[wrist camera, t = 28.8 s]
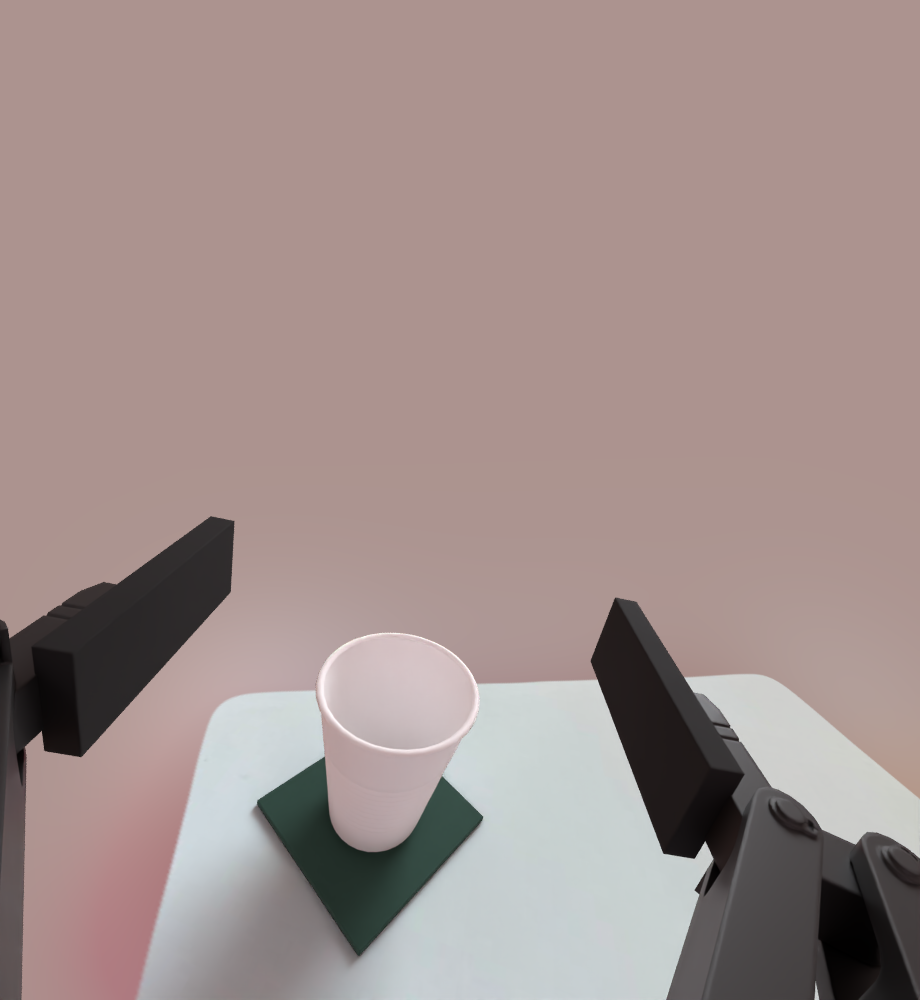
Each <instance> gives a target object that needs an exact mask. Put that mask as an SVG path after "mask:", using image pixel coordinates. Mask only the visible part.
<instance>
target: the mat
mask: <svg viewBox="0 0 920 1000" xmlns="http://www.w3.org/2000/svg"><path fill="white" fill-rule="evenodd" d="M257 805H258V806H259V808H260V809H261V811H262V812H263V814H264V815H265V817H266V818H267V820H268V821H269V823H270V824H271V826H272V827H273V829H274V830H275V832H276V833H277V835H278V836H279V838H280V839H281V841H282V842H283V844H284V845H285V847H286V848H287V850H288V851H289V853H290V854H291V856H292V857H293V859H294V860H295V862H296V863H297V865H298V866H299V868H300V869H301V871H302V872H303V874H304V875H305V877H306V878H307V880H308V881H309V883H310V884H311V886H312V887H313V889H314V890H315V892H316V893H317V895H318V896H319V898H320V899H321V901H322V902H323V904H324V905H325V907H326V908H327V910H328V911H329V913H330V914H331V916H332V917H333V919H334V920H335V922H336V923H337V925H338V926H339V928H340V929H341V931H342V932H343V934H344V935H345V937H346V938H347V940H348V941H349V943H350V944H351V946H352V947H353V949H354V950H355V952H356V953H357V955H358V956H360V955H361V954H362V952H363V951H364V950H365V949H366V948H367V947H368V946H369V945H370V944H371V942H372V941H373V940H374V939H375V938H376V937H377V936H378V935H379V934H380V933H381V931H382V930H383V929H384V928H385V927H386V926H387V925H388V924H389V923H390V921H391V920H392V919H393V918H394V917H395V916H396V915H397V914H398V913H399V912H400V910H401V909H402V908H403V907H404V906H405V905H406V904H407V903H408V902H409V901H410V899H411V898H412V897H413V896H414V895H415V894H416V893H417V892H418V891H419V889H420V888H421V887H422V886H423V885H424V884H425V883H426V882H427V881H428V880H429V878H430V877H431V876H432V875H433V874H434V873H435V872H436V871H437V870H438V869H439V867H440V866H441V865H442V864H443V863H444V862H445V861H446V860H447V859H448V857H449V856H450V855H451V854H452V853H453V852H454V851H455V850H456V849H457V848H458V846H459V845H460V844H461V843H462V842H463V841H464V840H465V839H466V838H467V837H468V835H469V834H470V833H471V832H472V831H473V830H474V829H475V828H476V827H477V825H478V824H479V823H480V822H481V821H482V819H483V816H482V815H481V814H480V813H479V812H478V811H477V810H476V809H475V808H474V807H473V806H472V805H471V804H470V803H469V802H468V801H467V800H466V799H465V798H464V797H463V796H462V795H461V794H460V793H459V792H458V791H457V790H455V789H454V788H453V787H452V786H451V785H450V784H449V783H448V782H447V781H446V780H445V779H444V778H443V777H441V778H440V780H439V782H438V784H437V786H436V788H435V790H434V792H433V793H432V796H431V797H430V799H429V801H428V803H427V805H426V807H425V809H424V811H423V813H422V815H421V817H420V819H419V821H418V823H417V824H416V826H415V828H414V830H413V831H412V833H411V834H410V835H409V836H408V837H407V838H406V839H405V840H404V841H403V842H402V843H400V844H399V845H397V846H396V847H394V848H391V849H389V850H386V851H381V852H366V851H362V850H358V849H356V848H354V847H352V846H350V845H348V844H347V843H346V842H345V841H343V840H342V839H341V838H340V836H339V835H338V834H337V833H336V831H335V829H334V827H333V825H332V823H331V819H330V814H329V802H328V786H327V775H326V764H325V757H324V758H322V759H321V760H319V761H317V762H316V763H314V764H313V765H311V766H310V767H308V768H307V769H305V770H304V771H302V772H301V773H299V774H297V775H296V776H294V777H293V778H291V779H290V780H288V781H287V782H285V783H284V784H282V785H280V786H279V787H277V788H276V789H274V790H273V791H271V792H270V793H268V794H267V795H265V796H264V797H262V798H260V799H259V800H258V801H257Z"/></svg>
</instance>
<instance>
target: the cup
mask: <svg viewBox="0 0 920 1000" xmlns="http://www.w3.org/2000/svg"><path fill="white" fill-rule="evenodd" d="M316 699H317V702H318V706H319V709H320V712H321V717H322V729H323V741H324V750H325V764H326V775H327V786H328V802H329V814H330V819H331V823H332V825H333V827H334V829H335V831H336V833H337V834H338V835H339V836H340V838H341V839H342V840H343V841H345V842H346V843H347V844H348V845H350V846H352V847H354V848H356V849H358V850H362V851H366V852H381V851H386V850H389V849H391V848H394V847H396V846H397V845H399V844H400V843H402V842H403V841H404V840H405V839H406V838H407V837H408V836H409V835H410V834H411V833H412V831H413V830H414V828H415V826H416V824H417V823H418V821H419V819H420V817H421V815H422V813H423V811H424V809H425V807H426V805H427V803H428V801H429V799H430V797H431V796H432V793H433V792H434V790H435V788H436V786H437V784H438V782H439V780H440V778H441V777H442V775H443V773H444V771H445V769H446V767H447V765H448V763H449V762H450V760H451V758H452V756H453V755H454V753H455V751H456V749H457V747H458V745H459V743H460V741H461V739H462V738H463V737H464V736H465V735H466V734H467V733H468V732H469V730H470V729H471V727H472V726H473V724H474V723H475V720H476V717H477V714H478V712H479V700H480V698H479V692H478V687H477V684H476V682H475V680H474V677H473V675H472V674H471V672H470V671H469V669H468V668H467V666H466V665H465V664H464V663H463V662H462V661H461V660H460V659H459V658H458V657H457V656H456V655H454V654H453V653H452V652H451V651H449V650H448V649H446V648H445V647H443V646H441V645H439V644H437V643H435V642H433V641H430V640H427V639H425V638H422V637H418V636H414V635H409V634H401V633H378V634H371V635H367V636H363V637H360V638H357V639H354V640H352V641H350V642H348V643H346V644H344V645H343V646H341V647H340V648H339V649H337V650H336V651H334V652H333V653H332V654H331V655H330V656H329V658H328V659H327V660H326V661H325V662H324V664H323V666H322V668H321V669H320V671H319V675H318V678H317V682H316Z"/></svg>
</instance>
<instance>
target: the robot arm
mask: <svg viewBox="0 0 920 1000" xmlns="http://www.w3.org/2000/svg"><path fill="white" fill-rule="evenodd" d="M233 536H234V521H231V520H226V519H221V518H216V517H209V518H208V519H207V520H205V521H204V522H203V523H201V524H200V525H198V526H197V527H196V528H194V529H193V530H191V531H190V532H189V533H187V534H186V535H184V536H183V537H182V538H180V539H179V540H178V541H176V542H175V543H173V544H172V545H171V546H169V547H168V548H167V549H165V550H164V551H162V552H161V553H160V554H158V555H157V556H156V557H154V558H153V559H151V560H150V561H149V562H147V563H146V564H144V565H143V566H142V567H140V568H139V569H138V570H136V571H135V572H133V573H132V574H131V575H129V576H128V577H127V578H125V579H124V580H123V581H121V582H120V583H118V584H117V585H116V584H111V583H105V582H103V583H100V584H97V585H95V586H92V587H90V588H87V589H84V590H82V591H80V592H78V593H77V594H75V595H74V596H72V597H71V598H69V599H68V600H66V601H65V602H63V603H62V605H61V606H57V607H56V608H54V609H53V610H51V611H50V612H48V614H47V616H42V617H41V618H39V619H38V620H36V621H35V622H33V623H32V624H31V625H29V626H27V627H26V628H25V629H23V630H22V631H20V632H19V633H17V634H16V635H14V636H13V637H11V638H10V639H9V633H8V628H7V626H6V623H5V622H3V621H2V620H0V1000H21V993H22V992H21V991H22V945H23V943H22V942H23V897H24V850H25V803H26V750H25V746H26V745H27V744H28V743H29V742H30V741H31V740H32V739H33V738H35V737H36V736H37V735H38V734H39V733H40V732H41V731H42V736H43V743H44V750H45V751H47V752H53V753H60V754H65V755H72V756H78V757H82V756H83V755H84V754H85V753H86V751H87V750H88V749H89V748H90V747H91V746H92V745H93V744H94V743H95V742H96V740H97V739H98V738H99V737H100V736H101V735H102V734H103V733H104V732H105V731H106V729H107V728H108V727H109V726H110V725H111V724H112V723H113V722H114V721H115V719H116V718H117V717H118V716H119V715H120V714H121V713H122V712H123V711H124V710H125V708H126V707H127V706H128V705H129V704H130V703H131V702H132V701H133V700H134V698H135V697H136V696H137V695H138V694H139V693H140V692H141V691H142V690H143V688H144V687H145V686H146V685H147V684H148V683H149V682H150V681H151V679H152V678H153V677H154V676H155V675H156V674H157V673H158V672H159V671H160V670H161V668H162V667H163V666H164V665H165V664H166V663H167V662H168V661H169V660H170V659H171V657H172V656H173V655H174V654H175V653H176V652H177V651H178V650H179V649H180V648H181V646H182V645H183V644H184V643H185V642H186V641H187V640H188V638H189V637H190V636H191V635H192V634H193V633H194V632H195V631H196V630H197V629H198V628H199V626H200V625H201V624H202V623H203V622H204V621H205V620H206V619H207V618H208V617H209V615H210V614H211V613H212V612H213V611H214V610H215V609H216V608H217V607H218V605H219V604H220V603H221V602H222V601H223V600H224V599H225V598H226V596H227V595H228V594H229V593H230V592H231V576H232V557H233V538H234V537H233ZM591 663H592V666H593V669H594V671H595V674H596V677H597V679H598V682H599V685H600V687H601V690H602V692H603V695H604V698H605V700H606V703H607V706H608V708H609V711H610V714H611V716H612V719H613V722H614V724H615V727H616V730H617V732H618V735H619V737H620V740H621V743H622V745H623V748H624V751H625V753H626V756H627V759H628V761H629V764H630V767H631V769H632V772H633V775H634V777H635V780H636V782H637V785H638V788H639V790H640V793H641V796H642V798H643V801H644V804H645V806H646V809H647V812H648V814H649V817H650V819H651V822H652V825H653V827H654V830H655V833H656V835H657V838H658V841H659V843H660V846H661V849H662V851H663V854H669V855H675V856H681V857H687V858H693V859H695V857H696V856H697V854H698V852H699V851H700V849H701V847H702V846H703V844H704V842H705V841H706V843H707V845H708V848H709V850H710V852H711V854H712V856H713V858H714V859H713V861H712V863H711V864H710V866H709V867H708V869H707V871H706V872H705V874H704V876H703V877H702V879H701V880H700V882H699V884H698V885H697V887H696V889H695V891H696V892H697V893H698V894H700V895H699V898H698V901H697V904H696V907H695V910H694V914H693V917H692V920H691V923H690V926H689V929H688V932H687V936H686V939H685V942H684V945H683V948H682V951H681V955H680V958H679V961H678V964H677V967H676V970H675V974H674V977H673V980H672V983H671V986H670V989H669V993H668V996H667V999H666V1000H814V998H815V981H816V985H817V990H818V995H819V1000H920V858H918V857H917V856H916V855H915V854H914V853H912V852H911V851H910V850H909V849H907V848H906V847H904V846H903V845H901V844H899V843H898V842H896V841H894V840H893V839H891V838H889V837H887V836H884V835H881V834H879V833H874V832H867V833H866V834H864V835H863V836H862V838H861V839H860V840H859V841H858V843H857V844H856V845H855V844H852V843H850V842H848V841H846V840H843V839H841V838H839V837H837V836H835V835H832V834H830V833H828V832H826V831H823V830H822V829H821V828H820V826H819V824H818V823H817V821H816V820H815V818H814V817H813V816H812V815H811V814H810V813H809V812H808V810H807V809H806V808H805V807H804V806H803V805H801V804H800V803H799V802H797V801H796V800H795V799H793V798H792V797H791V796H789V795H787V794H785V793H783V792H781V791H780V790H777V789H774V788H772V787H771V786H770V784H769V783H768V781H767V780H766V778H765V777H764V775H763V774H762V772H761V771H760V769H759V768H758V766H757V765H756V763H755V762H754V760H753V759H752V757H751V756H750V754H749V753H748V751H747V750H746V748H745V747H744V745H743V744H742V742H739V738H738V736H737V735H736V733H735V732H734V730H733V729H731V728H730V725H729V723H728V722H727V720H726V719H725V717H724V716H723V714H722V713H721V711H720V710H719V709H718V708H717V707H716V706H715V705H714V704H713V703H712V702H711V701H710V700H709V699H708V698H707V697H706V696H705V695H703V694H698V693H693V691H692V690H691V688H690V686H689V685H688V683H687V682H686V680H685V678H684V677H683V675H682V674H681V672H680V671H679V669H678V667H677V666H676V664H675V663H674V661H673V659H672V658H671V656H670V655H669V653H668V651H667V650H666V648H665V647H664V645H663V644H662V642H661V641H660V639H659V637H658V636H657V634H656V632H655V631H654V630H653V628H652V626H651V625H650V623H649V621H648V620H647V618H646V617H645V615H644V613H643V612H642V610H641V609H640V607H639V605H638V604H637V602H634V601H630V600H624V599H620V598H615V599H614V602H613V605H612V607H611V610H610V612H609V615H608V618H607V620H606V623H605V625H604V628H603V630H602V633H601V635H600V638H599V641H598V643H597V646H596V648H595V651H594V654H593V656H592V659H591Z"/></svg>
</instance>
